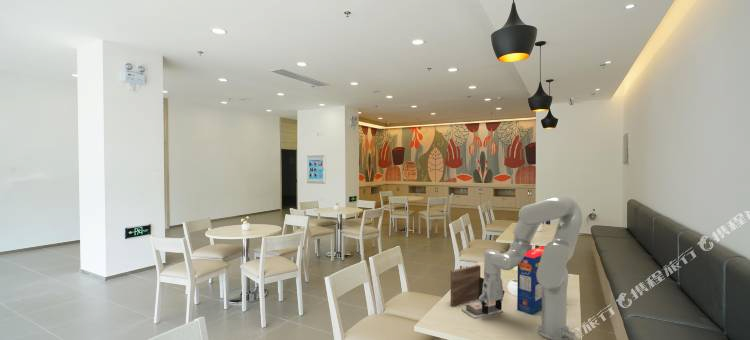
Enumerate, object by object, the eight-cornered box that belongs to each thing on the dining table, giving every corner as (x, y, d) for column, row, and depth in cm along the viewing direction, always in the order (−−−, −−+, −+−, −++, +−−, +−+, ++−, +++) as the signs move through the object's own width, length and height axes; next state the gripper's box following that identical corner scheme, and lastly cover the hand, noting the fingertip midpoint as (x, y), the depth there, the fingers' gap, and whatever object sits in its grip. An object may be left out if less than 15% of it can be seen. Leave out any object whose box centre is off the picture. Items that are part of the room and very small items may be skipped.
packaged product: (489, 296, 185) (503, 303, 176) (489, 305, 186) (503, 313, 176) (461, 302, 178) (474, 309, 169) (461, 311, 178) (474, 319, 169)
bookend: (501, 303, 188) (501, 280, 187) (493, 305, 185) (494, 282, 184) (485, 297, 196) (486, 275, 196) (478, 299, 193) (479, 277, 193)
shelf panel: (480, 298, 194) (480, 265, 193) (453, 306, 183) (453, 271, 182) (477, 297, 195) (477, 264, 195) (450, 305, 185) (450, 270, 184)
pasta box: (541, 296, 198) (542, 246, 197) (556, 300, 192) (557, 248, 191) (517, 310, 179) (517, 254, 178) (533, 315, 173) (533, 258, 173)
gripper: (486, 281, 164) (485, 318, 164) (510, 275, 173) (509, 309, 174) (473, 276, 170) (473, 312, 171) (497, 270, 180) (497, 304, 180)
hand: (491, 311), depth 172 cm, fingers open, 9 cm apart
